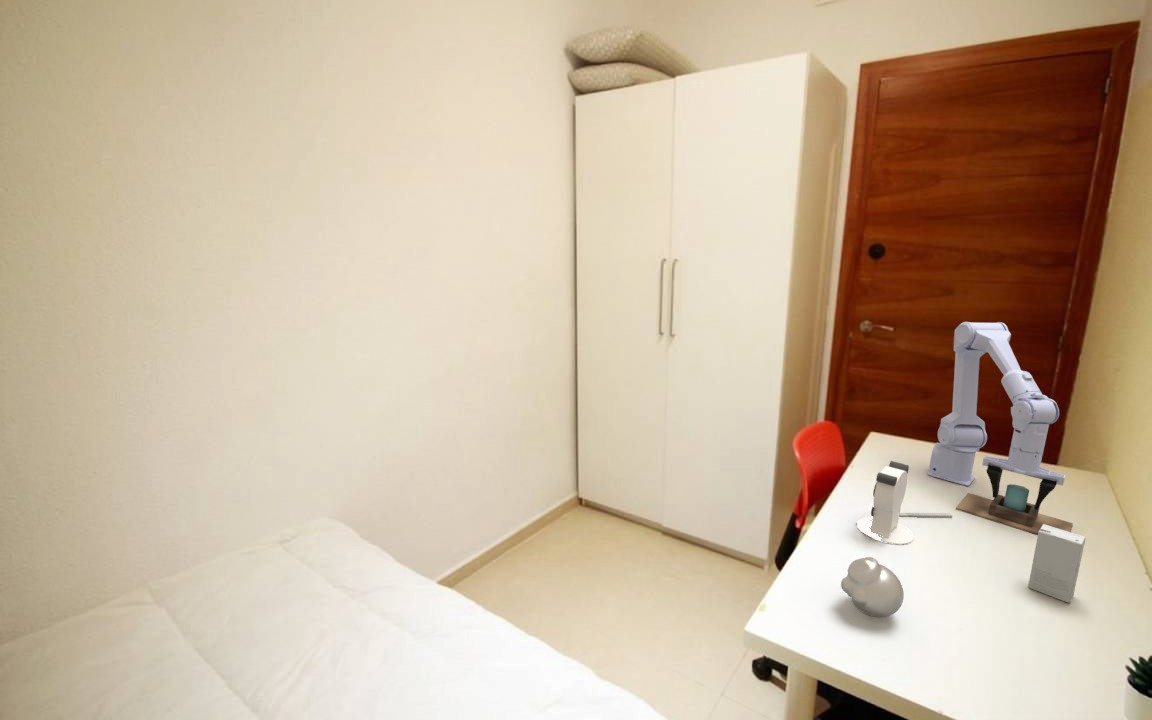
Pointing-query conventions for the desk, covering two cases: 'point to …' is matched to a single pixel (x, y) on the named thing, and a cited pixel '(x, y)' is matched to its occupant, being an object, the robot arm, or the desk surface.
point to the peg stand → (1010, 514)
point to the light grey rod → (926, 515)
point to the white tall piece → (890, 504)
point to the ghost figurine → (873, 588)
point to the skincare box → (1056, 562)
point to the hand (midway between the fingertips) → (1015, 502)
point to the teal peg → (1016, 497)
